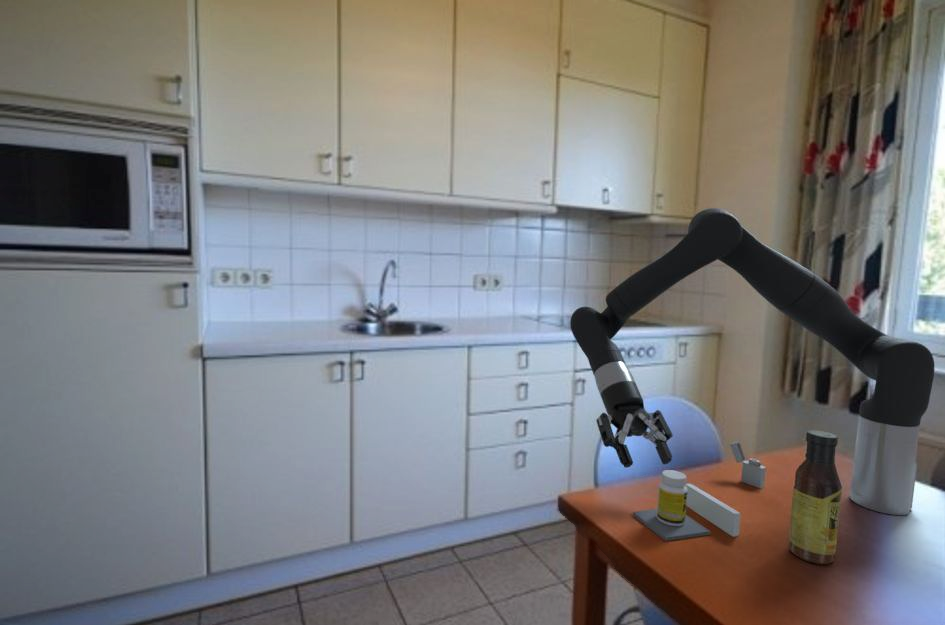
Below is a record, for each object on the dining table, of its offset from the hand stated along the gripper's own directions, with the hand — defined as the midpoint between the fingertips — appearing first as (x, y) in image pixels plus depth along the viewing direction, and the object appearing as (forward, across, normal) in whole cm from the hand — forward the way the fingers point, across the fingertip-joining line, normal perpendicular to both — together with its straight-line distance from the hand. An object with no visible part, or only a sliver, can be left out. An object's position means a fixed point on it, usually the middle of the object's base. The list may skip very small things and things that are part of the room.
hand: (648, 464), depth 94 cm
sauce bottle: (+20, +16, -8) cm, 27 cm away
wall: (+11, +9, +1) cm, 14 cm away
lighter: (+2, +29, +10) cm, 31 cm away
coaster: (+10, 0, +1) cm, 11 cm away
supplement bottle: (+10, 0, +1) cm, 10 cm away
